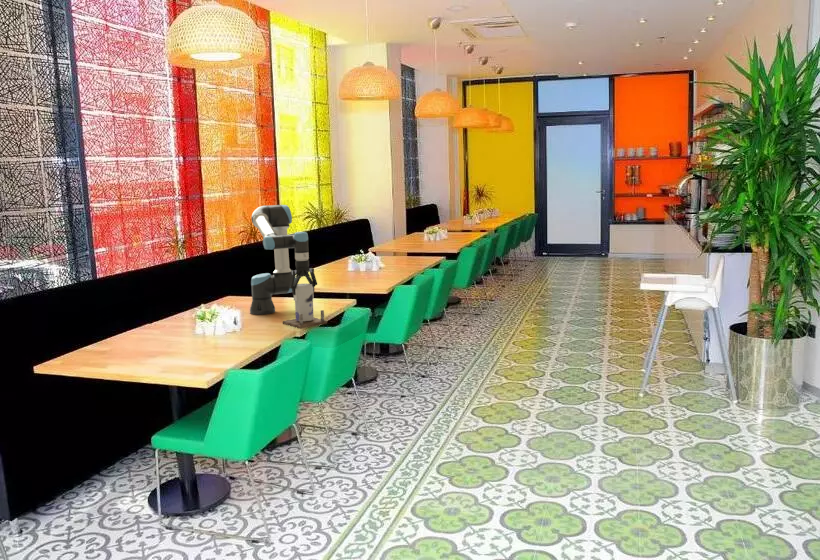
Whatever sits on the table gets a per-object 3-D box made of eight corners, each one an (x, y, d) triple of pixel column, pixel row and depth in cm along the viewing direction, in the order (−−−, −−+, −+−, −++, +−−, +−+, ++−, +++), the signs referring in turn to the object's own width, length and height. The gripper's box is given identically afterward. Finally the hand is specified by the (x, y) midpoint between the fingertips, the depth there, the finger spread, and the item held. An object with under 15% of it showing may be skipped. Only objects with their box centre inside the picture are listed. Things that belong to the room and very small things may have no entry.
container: (312, 321, 408) (310, 286, 404) (294, 321, 408) (292, 286, 405) (314, 317, 417) (313, 283, 414) (297, 317, 418) (295, 283, 414)
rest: (282, 323, 414) (282, 310, 413) (309, 318, 425) (309, 306, 424) (299, 328, 400) (299, 315, 399) (327, 323, 412) (326, 310, 411)
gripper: (288, 262, 397) (290, 302, 401) (322, 258, 412) (324, 297, 415) (280, 261, 403) (282, 301, 406) (315, 257, 417) (316, 295, 421)
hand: (303, 299), depth 411 cm, fingers closed on container, 10 cm apart
